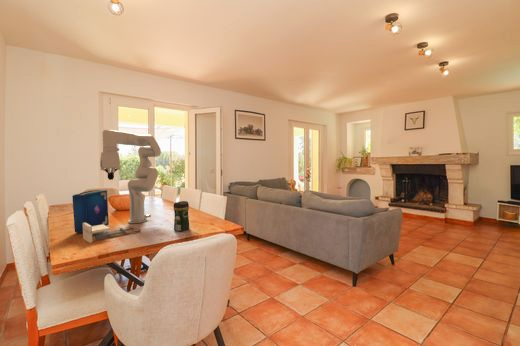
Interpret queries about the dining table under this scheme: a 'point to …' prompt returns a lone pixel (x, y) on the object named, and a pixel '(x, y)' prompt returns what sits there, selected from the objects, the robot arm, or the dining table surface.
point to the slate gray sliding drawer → (108, 234)
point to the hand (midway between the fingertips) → (110, 179)
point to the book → (90, 209)
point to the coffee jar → (181, 216)
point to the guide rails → (125, 233)
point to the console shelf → (92, 231)
